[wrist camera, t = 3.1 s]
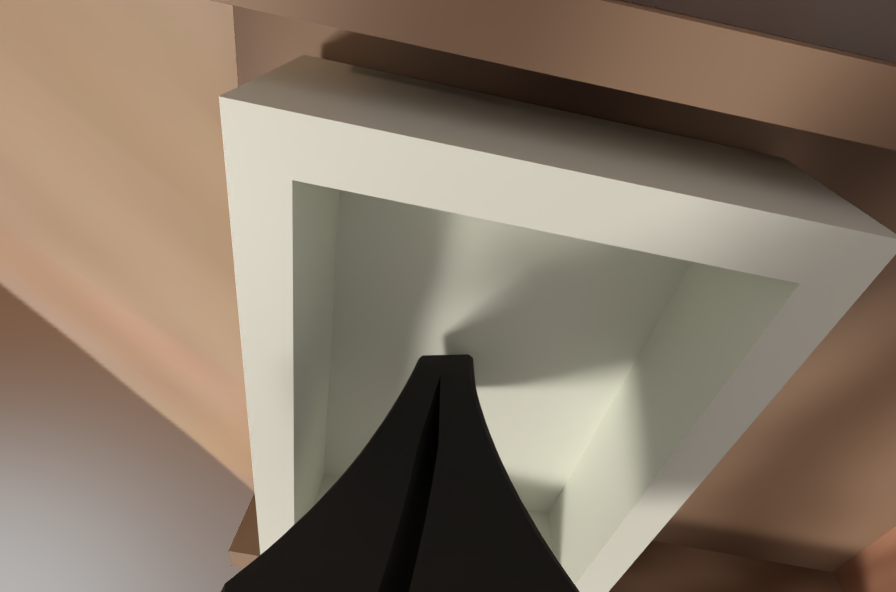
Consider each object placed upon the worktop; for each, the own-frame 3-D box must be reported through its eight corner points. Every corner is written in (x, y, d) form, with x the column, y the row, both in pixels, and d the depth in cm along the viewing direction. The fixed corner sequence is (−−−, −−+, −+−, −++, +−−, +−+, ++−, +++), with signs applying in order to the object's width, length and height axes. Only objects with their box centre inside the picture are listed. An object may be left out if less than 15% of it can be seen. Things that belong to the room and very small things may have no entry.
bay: (1354, 167, 10) (1752, 261, 7) (826, 562, 21) (888, 675, 17) (249, -85, 9) (118, -111, 6) (274, 464, 20) (230, 565, 16)
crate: (783, 157, 10) (906, 241, 7) (565, 517, 18) (579, 625, 15) (303, 54, 9) (218, 95, 6) (300, 470, 18) (262, 573, 15)
